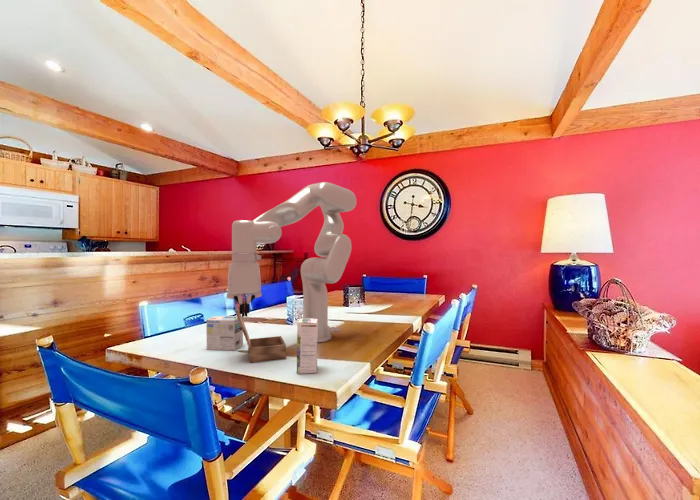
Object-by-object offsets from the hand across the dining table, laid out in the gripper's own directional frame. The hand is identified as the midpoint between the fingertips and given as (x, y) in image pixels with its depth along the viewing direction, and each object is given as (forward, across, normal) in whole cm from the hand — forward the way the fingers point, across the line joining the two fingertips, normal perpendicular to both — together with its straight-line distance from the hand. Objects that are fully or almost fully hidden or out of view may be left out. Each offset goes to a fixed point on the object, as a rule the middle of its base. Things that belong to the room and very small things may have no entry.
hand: (244, 315), depth 104 cm
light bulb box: (+14, +6, -14) cm, 21 cm away
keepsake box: (+14, -7, 0) cm, 15 cm away
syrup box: (+14, -17, +17) cm, 28 cm away
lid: (+4, 0, 0) cm, 4 cm away
